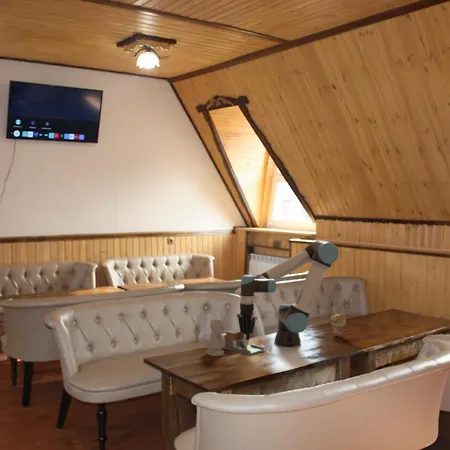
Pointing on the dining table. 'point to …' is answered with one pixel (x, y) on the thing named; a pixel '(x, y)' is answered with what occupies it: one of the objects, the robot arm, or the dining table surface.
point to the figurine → (215, 338)
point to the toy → (338, 323)
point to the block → (233, 336)
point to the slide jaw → (238, 343)
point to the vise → (245, 348)
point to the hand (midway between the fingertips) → (245, 345)
